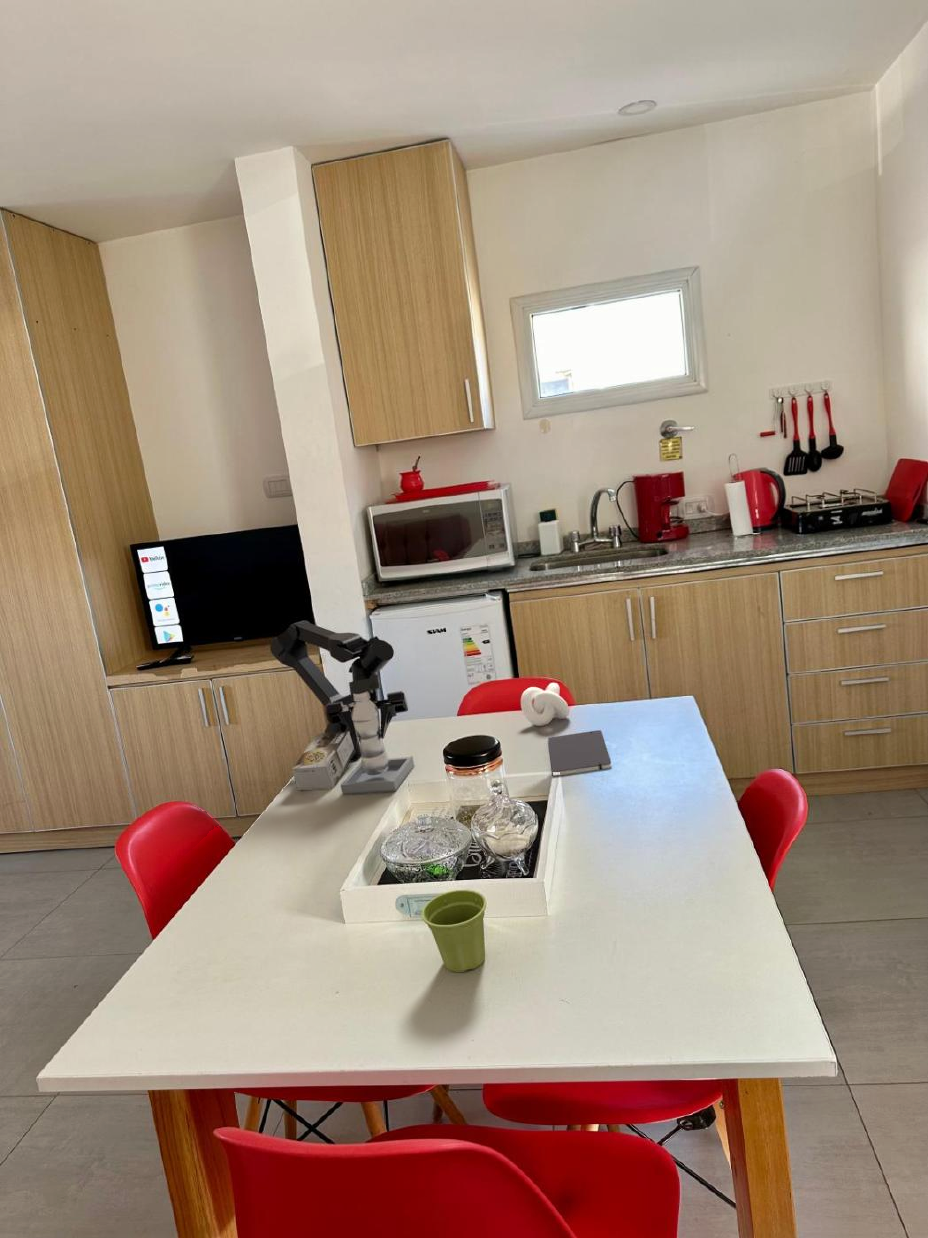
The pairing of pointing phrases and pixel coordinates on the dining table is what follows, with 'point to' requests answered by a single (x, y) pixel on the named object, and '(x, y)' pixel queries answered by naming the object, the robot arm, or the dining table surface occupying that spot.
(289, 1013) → the dining table surface
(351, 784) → the grey square tray
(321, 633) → the robot arm
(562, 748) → the notebook
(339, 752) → the coffee box
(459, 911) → the plant pot
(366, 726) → the plastic bottle
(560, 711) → the white knot sculpture
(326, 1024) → the dining table surface
